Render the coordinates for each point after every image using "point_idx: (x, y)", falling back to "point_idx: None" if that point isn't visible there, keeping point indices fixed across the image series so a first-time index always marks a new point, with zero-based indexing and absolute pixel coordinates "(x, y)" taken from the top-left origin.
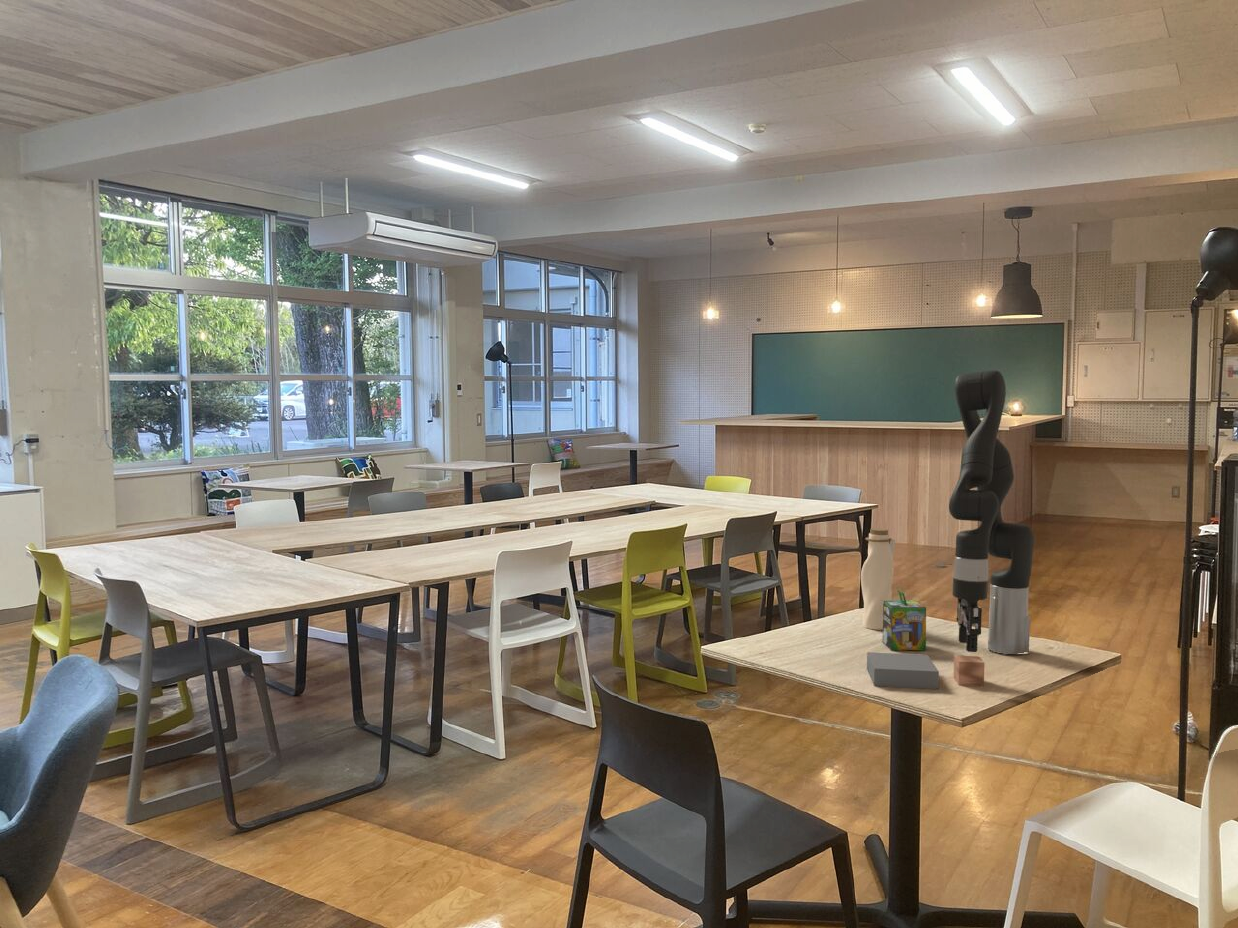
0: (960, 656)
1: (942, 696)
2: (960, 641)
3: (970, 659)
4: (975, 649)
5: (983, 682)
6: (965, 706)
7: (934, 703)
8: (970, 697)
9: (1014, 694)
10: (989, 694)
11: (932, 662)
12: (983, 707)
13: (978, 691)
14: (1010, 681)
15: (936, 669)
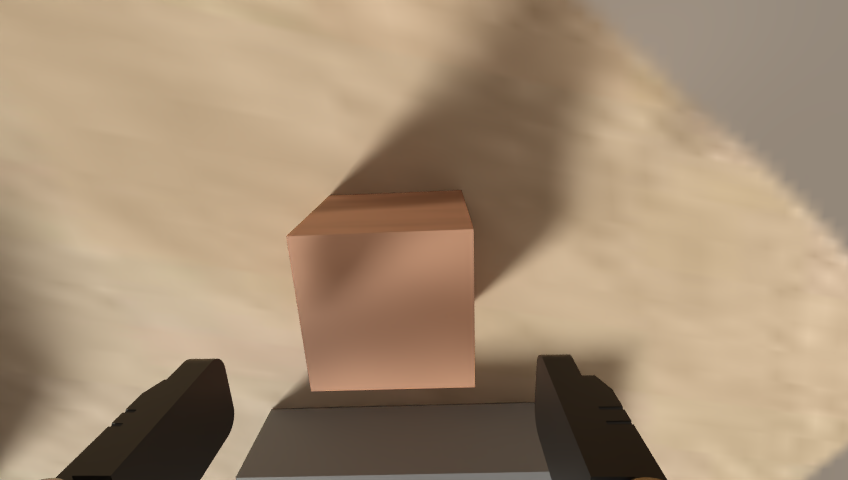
0: (337, 360)
1: (662, 400)
2: (230, 421)
3: (403, 310)
4: (599, 381)
5: (461, 196)
6: (812, 332)
7: (763, 440)
8: (672, 289)
9: (603, 43)
10: (615, 188)
11: (395, 474)
12: (834, 258)
13: (566, 235)
14: (325, 6)
15: (538, 475)
